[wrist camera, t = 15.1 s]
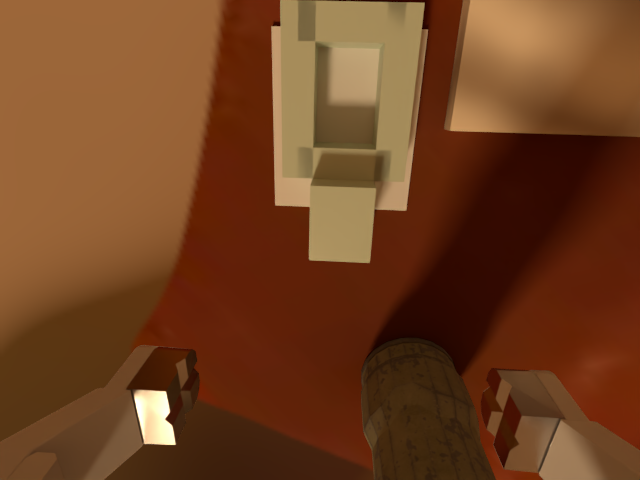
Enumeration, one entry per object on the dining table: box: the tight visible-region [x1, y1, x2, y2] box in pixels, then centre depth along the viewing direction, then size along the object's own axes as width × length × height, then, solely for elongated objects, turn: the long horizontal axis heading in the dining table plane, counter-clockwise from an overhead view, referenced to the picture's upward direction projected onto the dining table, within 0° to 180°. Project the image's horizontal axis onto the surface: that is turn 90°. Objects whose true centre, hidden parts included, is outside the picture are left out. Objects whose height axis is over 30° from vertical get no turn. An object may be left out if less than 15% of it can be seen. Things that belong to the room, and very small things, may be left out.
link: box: [280, 0, 425, 263], centre depth 23 cm, size 15×8×5 cm, turn 178°
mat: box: [272, 26, 428, 211], centre depth 26 cm, size 12×10×1 cm
